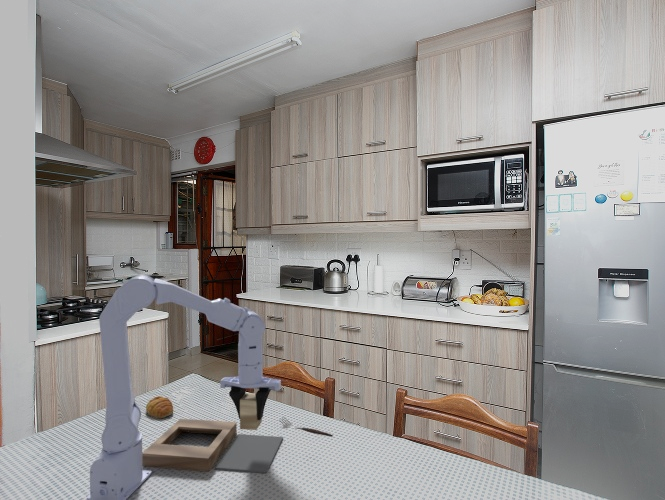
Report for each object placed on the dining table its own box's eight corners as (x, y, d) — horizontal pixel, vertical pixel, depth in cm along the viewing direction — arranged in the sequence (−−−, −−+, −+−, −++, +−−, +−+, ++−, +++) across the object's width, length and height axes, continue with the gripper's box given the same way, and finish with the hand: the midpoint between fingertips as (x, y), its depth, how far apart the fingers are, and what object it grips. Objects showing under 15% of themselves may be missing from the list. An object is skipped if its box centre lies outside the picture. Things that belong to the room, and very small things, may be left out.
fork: (330, 440, 93) (330, 432, 93) (278, 427, 99) (278, 420, 99) (334, 435, 95) (334, 427, 95) (283, 422, 101) (283, 415, 101)
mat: (266, 473, 79) (266, 471, 79) (214, 469, 80) (214, 467, 80) (282, 438, 93) (282, 437, 93) (238, 435, 94) (238, 434, 94)
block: (256, 430, 84) (256, 400, 84) (240, 429, 85) (239, 399, 84) (261, 421, 88) (261, 393, 88) (246, 420, 89) (246, 392, 88)
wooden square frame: (208, 471, 79) (208, 458, 79) (142, 466, 81) (141, 453, 81) (236, 433, 95) (236, 422, 95) (180, 429, 97) (180, 418, 97)
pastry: (179, 414, 107) (179, 401, 106) (156, 422, 102) (155, 409, 101) (166, 404, 113) (165, 392, 113) (143, 412, 108) (143, 399, 108)
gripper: (284, 357, 89) (284, 411, 89) (228, 355, 91) (229, 408, 91) (276, 367, 82) (276, 425, 82) (216, 365, 84) (216, 422, 84)
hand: (251, 417), depth 86 cm, fingers closed on block, 4 cm apart
